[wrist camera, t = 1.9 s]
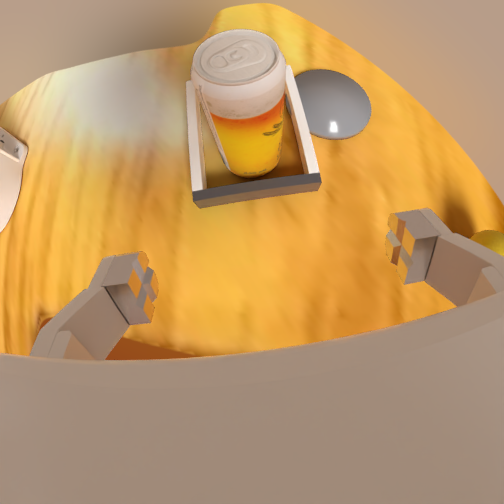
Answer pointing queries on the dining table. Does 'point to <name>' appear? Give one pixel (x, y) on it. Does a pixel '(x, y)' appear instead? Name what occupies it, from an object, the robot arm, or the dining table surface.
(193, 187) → the channel
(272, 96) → the beer can
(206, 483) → the robot arm
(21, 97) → the dining table surface
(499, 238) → the lemon
